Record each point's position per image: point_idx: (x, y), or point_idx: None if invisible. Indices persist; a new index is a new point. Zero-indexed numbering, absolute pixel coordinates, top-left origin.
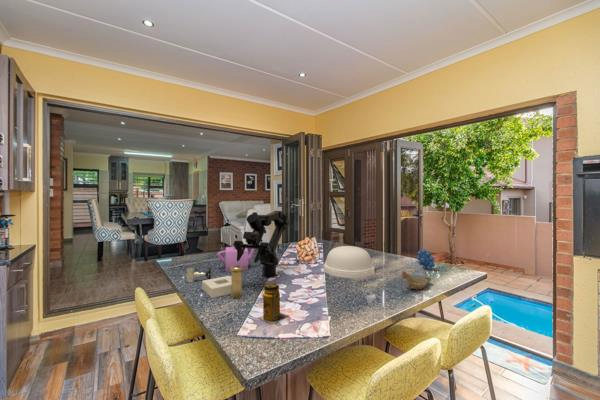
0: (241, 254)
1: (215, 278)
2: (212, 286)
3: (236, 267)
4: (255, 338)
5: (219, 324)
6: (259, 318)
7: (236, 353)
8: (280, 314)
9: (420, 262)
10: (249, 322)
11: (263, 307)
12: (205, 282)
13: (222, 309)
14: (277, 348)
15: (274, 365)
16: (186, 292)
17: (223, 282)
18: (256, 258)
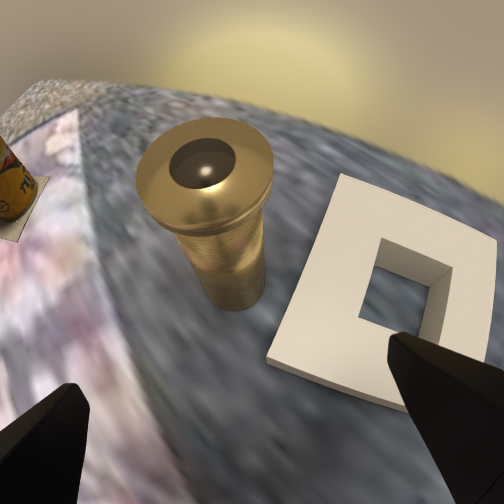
0: (465, 482)
1: (487, 313)
2: (373, 199)
3: (188, 150)
4: (40, 123)
5: (136, 105)
6: (46, 176)
7: (61, 87)
8: (1, 229)
9: None
10: (66, 150)
11: (18, 160)
12: (461, 228)
13: None
14: (5, 130)
15: (10, 108)
16: (472, 200)
17: (430, 338)
18: (27, 411)
